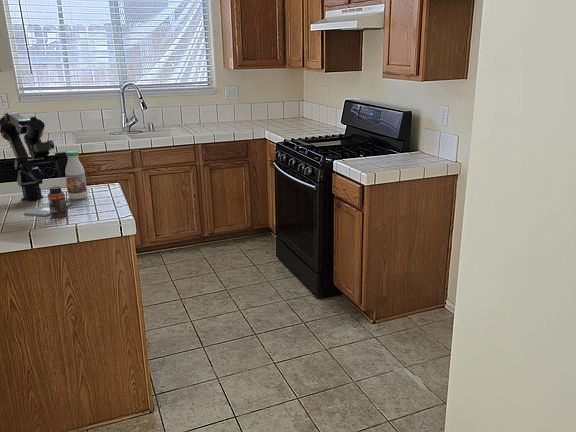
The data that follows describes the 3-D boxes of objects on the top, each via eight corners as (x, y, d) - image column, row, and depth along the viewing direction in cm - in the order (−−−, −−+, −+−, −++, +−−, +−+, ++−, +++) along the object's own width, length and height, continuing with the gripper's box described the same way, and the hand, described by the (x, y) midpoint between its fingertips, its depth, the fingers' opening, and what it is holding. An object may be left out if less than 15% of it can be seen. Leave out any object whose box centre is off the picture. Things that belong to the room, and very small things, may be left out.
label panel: (24, 214, 196) (23, 212, 196) (51, 203, 211) (51, 201, 211) (46, 216, 194) (46, 214, 194) (72, 205, 209) (72, 203, 208)
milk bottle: (68, 196, 222) (62, 150, 216) (87, 194, 225) (81, 149, 219) (68, 200, 215) (62, 153, 209) (88, 198, 218) (82, 152, 212)
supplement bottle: (70, 213, 198) (66, 185, 194) (64, 218, 192) (60, 189, 189) (54, 213, 198) (50, 185, 194) (48, 218, 192) (43, 189, 188)
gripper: (12, 136, 189) (26, 170, 185) (63, 131, 201) (77, 163, 197) (8, 153, 197) (22, 187, 193) (58, 147, 209) (71, 179, 205)
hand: (49, 178), depth 197 cm, fingers open, 9 cm apart
